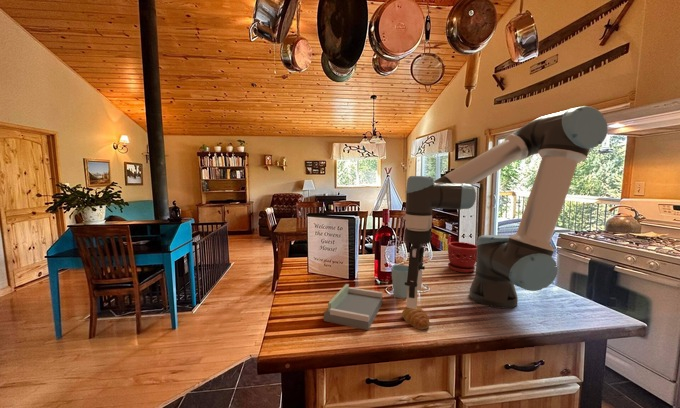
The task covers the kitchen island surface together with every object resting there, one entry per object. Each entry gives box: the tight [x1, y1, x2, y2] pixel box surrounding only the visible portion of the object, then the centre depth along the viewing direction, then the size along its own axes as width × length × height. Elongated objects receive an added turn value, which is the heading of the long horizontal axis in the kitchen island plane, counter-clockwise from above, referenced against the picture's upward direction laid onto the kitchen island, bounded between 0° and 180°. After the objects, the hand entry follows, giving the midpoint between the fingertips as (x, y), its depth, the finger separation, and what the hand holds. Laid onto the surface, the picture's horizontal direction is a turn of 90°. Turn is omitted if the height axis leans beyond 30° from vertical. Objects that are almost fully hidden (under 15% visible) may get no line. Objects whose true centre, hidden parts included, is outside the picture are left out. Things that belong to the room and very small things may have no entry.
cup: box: [390, 264, 409, 299], centre depth 103 cm, size 8×8×10 cm
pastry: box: [401, 306, 431, 330], centre depth 85 cm, size 9×7×4 cm
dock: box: [323, 283, 384, 331], centre depth 91 cm, size 14×18×6 cm
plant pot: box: [447, 241, 477, 273], centre depth 131 cm, size 13×13×12 cm
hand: (414, 298), depth 84 cm, fingers open, 13 cm apart
